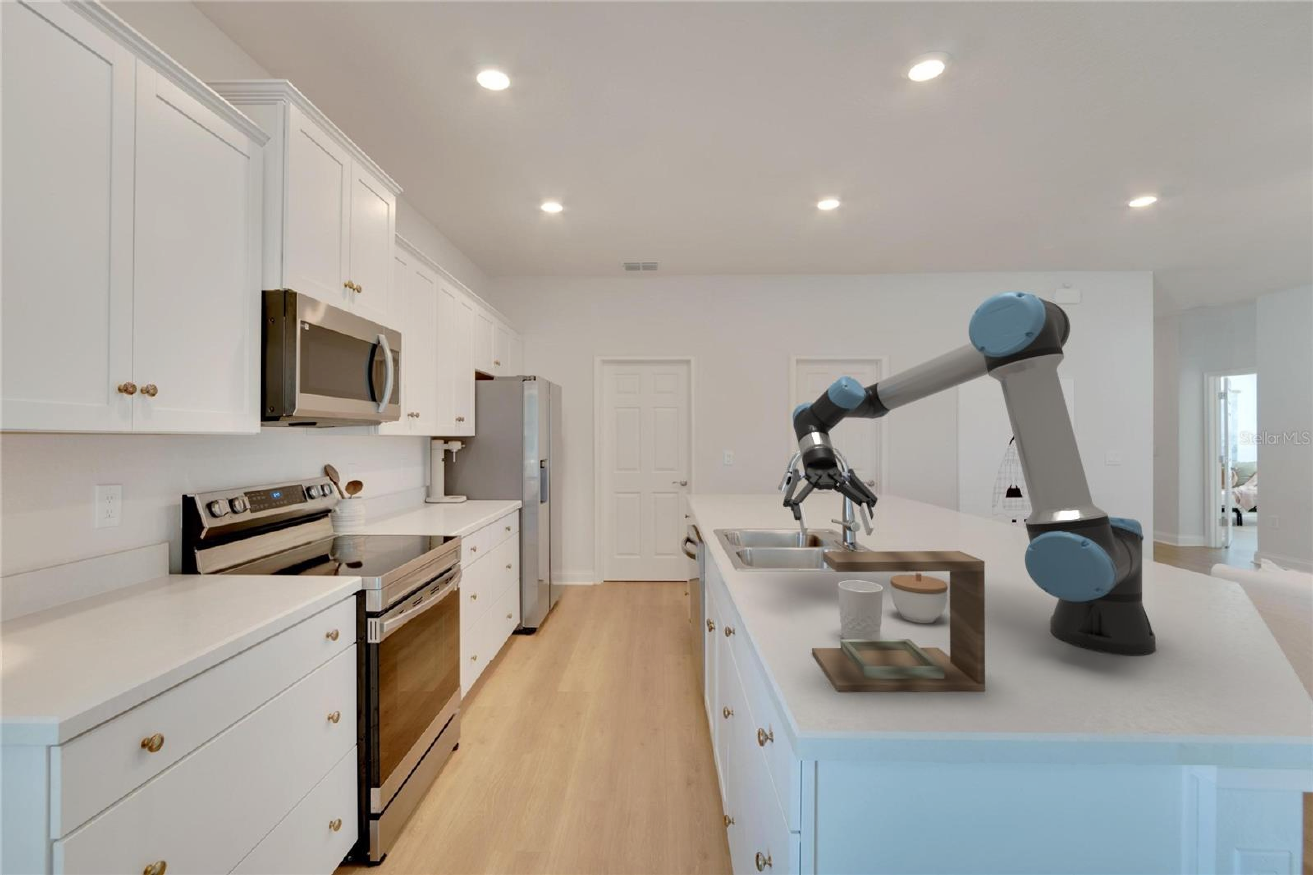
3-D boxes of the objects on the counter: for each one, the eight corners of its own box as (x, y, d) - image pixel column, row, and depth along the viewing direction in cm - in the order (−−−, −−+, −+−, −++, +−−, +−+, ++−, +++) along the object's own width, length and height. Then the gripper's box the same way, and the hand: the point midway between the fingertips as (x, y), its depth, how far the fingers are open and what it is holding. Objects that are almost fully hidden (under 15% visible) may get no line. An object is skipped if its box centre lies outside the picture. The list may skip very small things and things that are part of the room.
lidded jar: (949, 615, 115) (949, 571, 115) (945, 631, 106) (945, 583, 106) (895, 607, 121) (895, 564, 121) (886, 621, 112) (886, 575, 112)
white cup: (884, 634, 105) (883, 582, 105) (882, 649, 98) (881, 593, 98) (840, 628, 108) (840, 578, 108) (836, 642, 101) (835, 588, 101)
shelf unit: (937, 653, 96) (937, 542, 96) (984, 691, 82) (984, 561, 82) (812, 653, 96) (811, 543, 96) (837, 691, 82) (836, 562, 82)
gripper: (866, 466, 132) (892, 541, 117) (763, 466, 132) (775, 541, 117) (875, 445, 126) (903, 521, 112) (767, 445, 127) (780, 521, 112)
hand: (837, 532), depth 114 cm, fingers open, 13 cm apart
